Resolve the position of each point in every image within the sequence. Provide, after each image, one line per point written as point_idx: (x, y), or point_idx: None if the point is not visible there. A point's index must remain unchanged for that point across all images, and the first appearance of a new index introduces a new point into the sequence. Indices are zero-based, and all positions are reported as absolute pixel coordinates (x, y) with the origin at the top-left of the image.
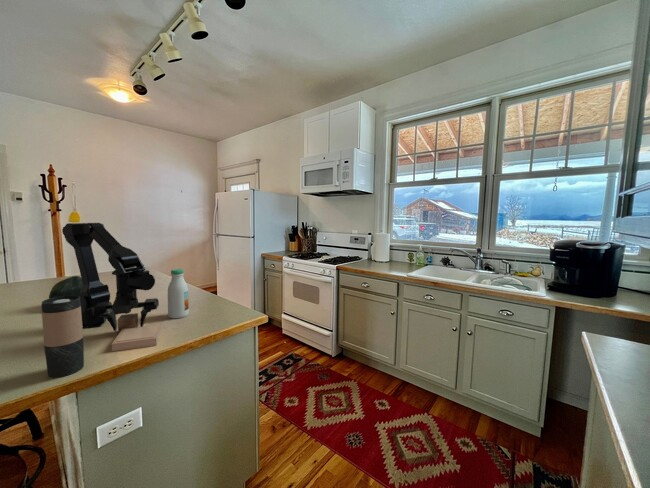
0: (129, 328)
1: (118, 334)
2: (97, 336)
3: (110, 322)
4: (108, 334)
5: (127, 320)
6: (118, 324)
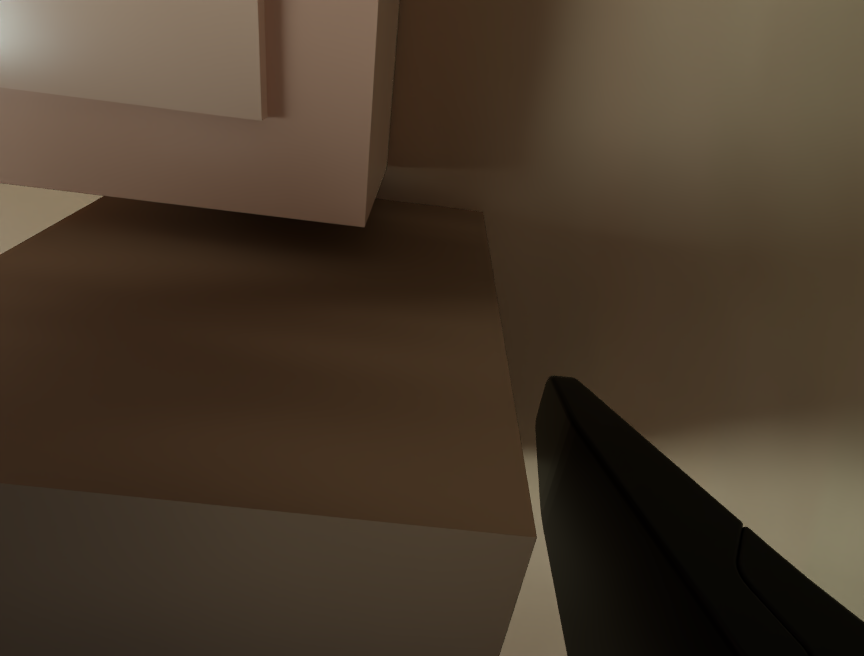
0: (166, 171)
1: (481, 222)
2: (835, 358)
3: (747, 548)
4: (656, 370)
5: (105, 408)
6: (485, 364)
